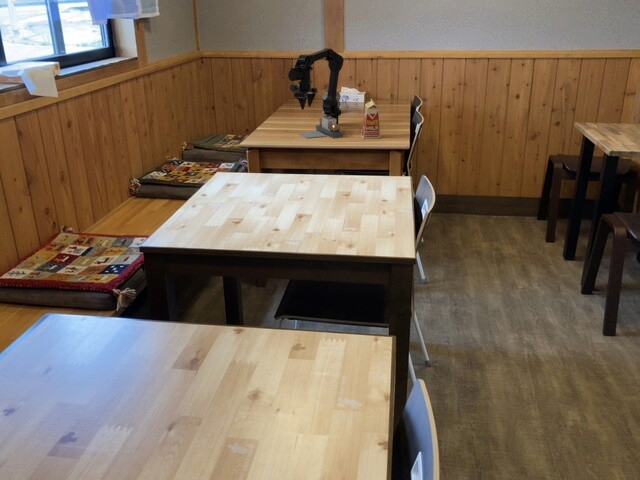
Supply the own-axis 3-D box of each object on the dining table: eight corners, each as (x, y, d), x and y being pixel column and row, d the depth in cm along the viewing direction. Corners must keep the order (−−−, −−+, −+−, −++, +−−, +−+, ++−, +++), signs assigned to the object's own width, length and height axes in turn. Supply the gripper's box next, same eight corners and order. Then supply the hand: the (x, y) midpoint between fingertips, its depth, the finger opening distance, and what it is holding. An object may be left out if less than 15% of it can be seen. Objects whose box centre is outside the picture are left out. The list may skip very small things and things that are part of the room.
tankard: (341, 114, 370) (341, 90, 364) (321, 114, 370) (321, 90, 364) (340, 109, 388) (341, 86, 383) (322, 109, 389) (322, 86, 383)
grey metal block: (321, 126, 320) (321, 115, 318) (330, 125, 322) (330, 114, 319) (327, 128, 313) (327, 118, 311) (336, 128, 315) (336, 117, 313)
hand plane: (316, 130, 327) (316, 117, 324) (325, 129, 329) (325, 117, 326) (332, 138, 308) (332, 125, 306) (342, 137, 311) (342, 124, 308)
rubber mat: (318, 132, 322) (318, 131, 322) (326, 136, 312) (326, 135, 312) (298, 134, 318) (298, 133, 318) (306, 138, 308) (306, 137, 308)
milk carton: (361, 135, 315) (361, 98, 307) (377, 135, 315) (379, 97, 308) (363, 139, 306) (364, 100, 298) (380, 138, 307) (382, 100, 299)
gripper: (299, 76, 324) (299, 104, 330) (284, 80, 308) (285, 110, 314) (317, 76, 320) (317, 105, 326) (303, 81, 304) (304, 111, 310)
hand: (306, 108), depth 319 cm, fingers open, 9 cm apart
